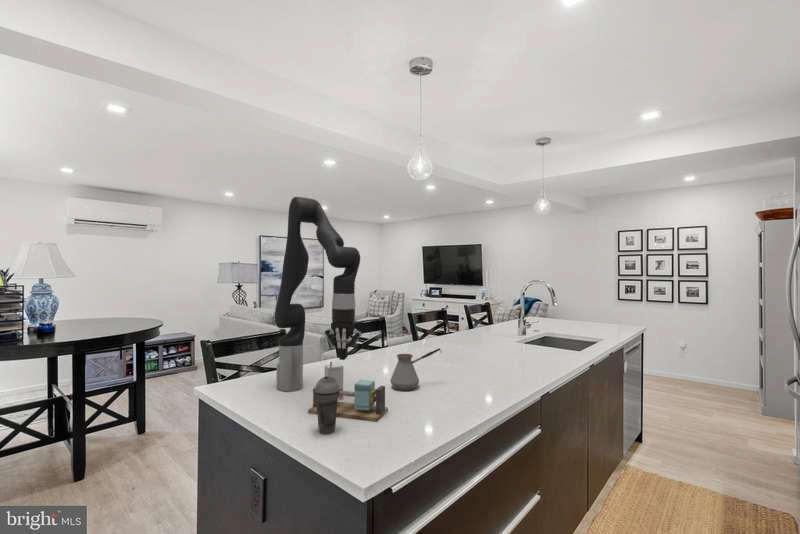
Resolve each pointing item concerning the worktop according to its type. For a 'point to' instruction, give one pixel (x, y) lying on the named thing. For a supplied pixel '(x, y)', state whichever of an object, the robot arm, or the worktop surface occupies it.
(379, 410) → the rail stand
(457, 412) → the worktop surface
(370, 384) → the sleeve
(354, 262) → the robot arm
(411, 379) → the coffee pot
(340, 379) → the skincare box
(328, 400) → the beverage cup
